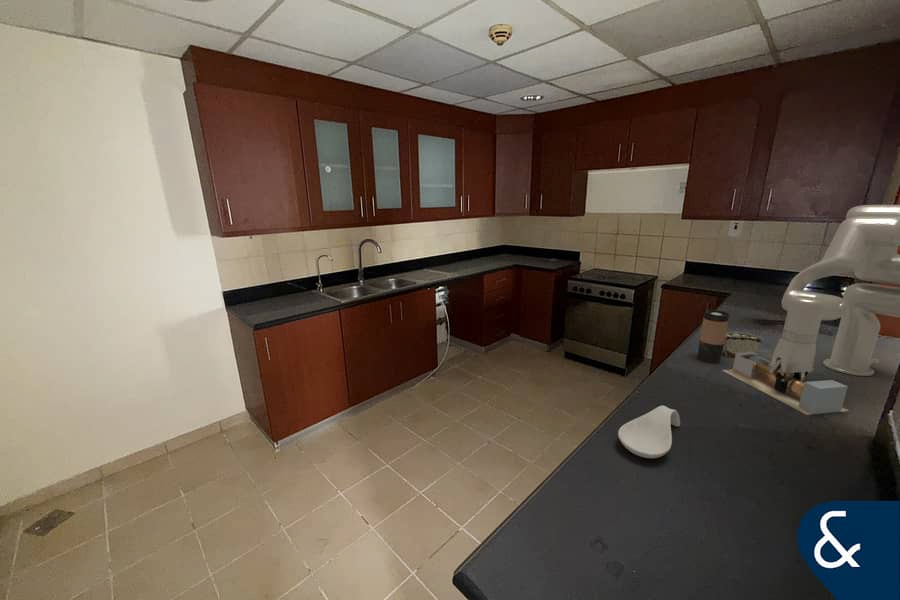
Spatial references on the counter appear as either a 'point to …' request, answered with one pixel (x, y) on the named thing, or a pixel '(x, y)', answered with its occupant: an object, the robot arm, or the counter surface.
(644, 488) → the counter surface
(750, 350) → the food container
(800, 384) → the tube
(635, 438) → the spoon rest
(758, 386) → the board
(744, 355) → the sleeve
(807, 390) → the socket
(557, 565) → the counter surface
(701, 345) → the travel mug
